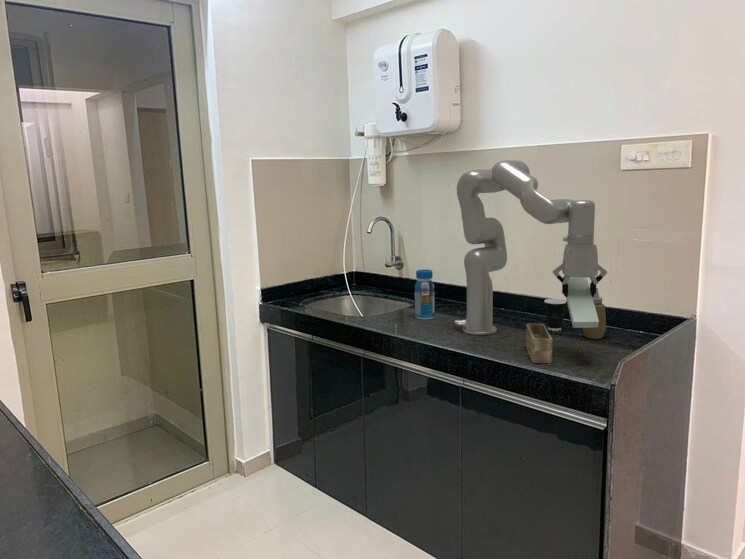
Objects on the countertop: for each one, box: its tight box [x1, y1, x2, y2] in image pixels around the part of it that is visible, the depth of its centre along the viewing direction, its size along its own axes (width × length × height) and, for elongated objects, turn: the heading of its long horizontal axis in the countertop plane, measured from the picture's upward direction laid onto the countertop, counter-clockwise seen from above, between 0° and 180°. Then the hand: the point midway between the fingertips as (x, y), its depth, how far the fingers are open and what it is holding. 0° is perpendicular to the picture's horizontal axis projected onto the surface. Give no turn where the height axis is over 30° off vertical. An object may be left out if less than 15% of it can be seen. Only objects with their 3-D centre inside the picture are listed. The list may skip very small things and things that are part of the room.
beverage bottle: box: [414, 268, 436, 321], centre depth 235 cm, size 8×8×20 cm
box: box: [525, 323, 553, 364], centre depth 183 cm, size 6×19×8 cm, turn 171°
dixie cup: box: [544, 298, 567, 332], centre depth 212 cm, size 8×8×11 cm
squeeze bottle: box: [582, 287, 607, 340], centre depth 200 cm, size 8×8×18 cm
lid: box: [565, 277, 599, 329], centre depth 176 cm, size 7×20×2 cm
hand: (578, 295), depth 178 cm, fingers closed on lid, 7 cm apart
